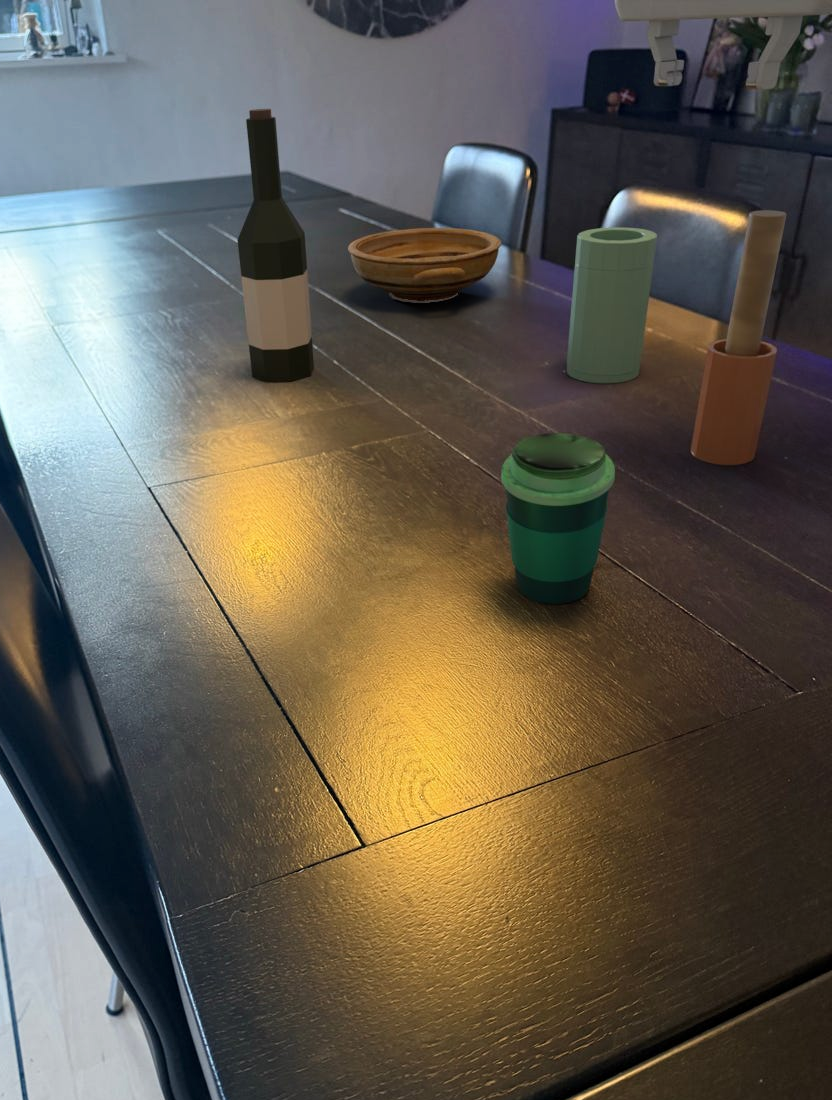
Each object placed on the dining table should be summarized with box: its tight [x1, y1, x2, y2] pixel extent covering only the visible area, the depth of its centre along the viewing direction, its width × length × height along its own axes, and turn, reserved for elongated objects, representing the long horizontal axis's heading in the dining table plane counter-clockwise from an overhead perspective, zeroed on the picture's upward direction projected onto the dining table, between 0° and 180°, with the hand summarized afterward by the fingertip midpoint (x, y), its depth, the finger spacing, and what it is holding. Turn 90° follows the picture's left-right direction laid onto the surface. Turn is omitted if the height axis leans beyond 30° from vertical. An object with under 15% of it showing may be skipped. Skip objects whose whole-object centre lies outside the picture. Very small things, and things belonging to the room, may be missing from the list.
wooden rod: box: [724, 209, 787, 356], centre depth 86 cm, size 4×4×22 cm
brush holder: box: [690, 338, 778, 466], centre depth 90 cm, size 6×6×11 cm
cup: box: [500, 432, 616, 605], centre depth 70 cm, size 8×8×12 cm
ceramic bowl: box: [347, 227, 502, 301], centre depth 149 cm, size 30×24×8 cm
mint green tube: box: [566, 226, 658, 384], centre depth 111 cm, size 9×9×16 cm
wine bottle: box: [237, 108, 315, 383], centre depth 113 cm, size 8×8×30 cm
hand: (711, 87), depth 74 cm, fingers open, 8 cm apart
